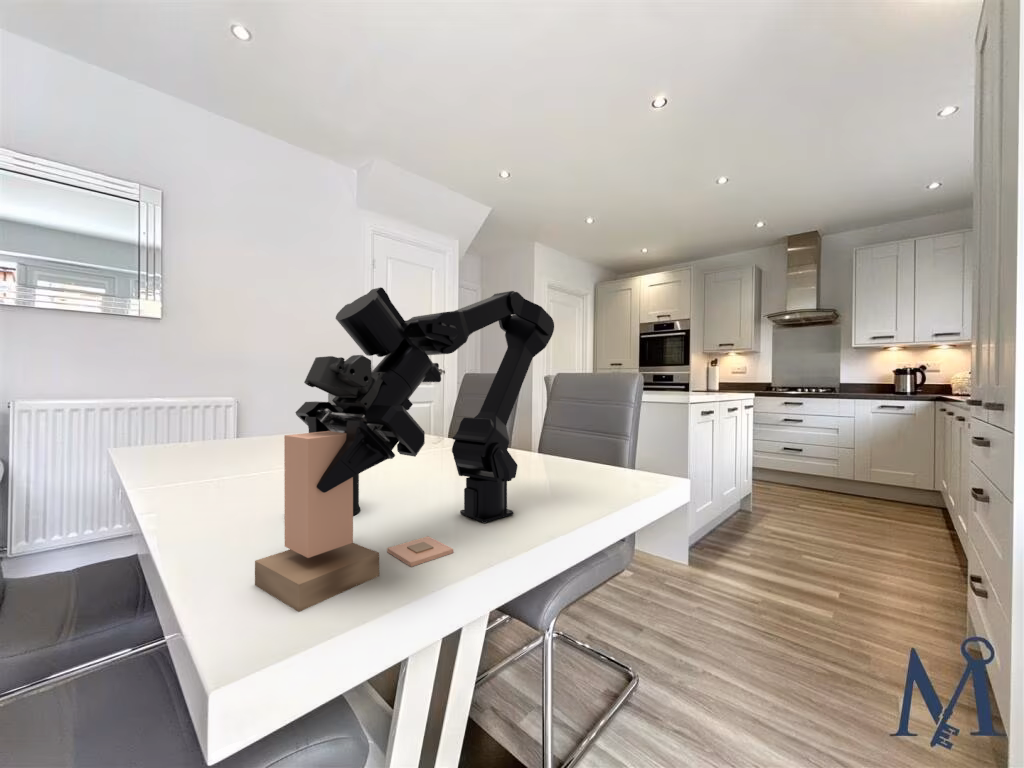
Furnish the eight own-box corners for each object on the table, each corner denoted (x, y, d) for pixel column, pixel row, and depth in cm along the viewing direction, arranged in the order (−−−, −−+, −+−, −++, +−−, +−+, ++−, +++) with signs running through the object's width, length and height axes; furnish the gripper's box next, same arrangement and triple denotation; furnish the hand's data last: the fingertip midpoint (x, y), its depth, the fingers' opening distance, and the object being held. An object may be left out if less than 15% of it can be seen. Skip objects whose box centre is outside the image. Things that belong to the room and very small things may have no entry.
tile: (428, 539, 57) (428, 534, 57) (453, 552, 52) (453, 547, 52) (387, 551, 53) (387, 546, 53) (411, 566, 48) (411, 560, 48)
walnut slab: (333, 559, 51) (333, 535, 51) (379, 579, 46) (379, 552, 46) (254, 588, 44) (254, 560, 44) (298, 616, 39) (298, 584, 39)
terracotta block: (328, 532, 48) (328, 431, 49) (353, 542, 46) (352, 434, 46) (284, 546, 44) (284, 435, 44) (307, 558, 41) (307, 438, 42)
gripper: (311, 339, 54) (211, 432, 45) (403, 327, 43) (294, 447, 34) (364, 398, 60) (286, 489, 51) (457, 401, 49) (377, 518, 40)
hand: (306, 486), depth 44 cm, fingers closed on terracotta block, 5 cm apart
